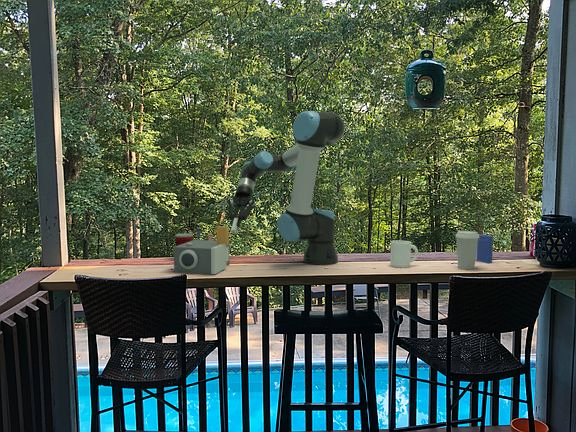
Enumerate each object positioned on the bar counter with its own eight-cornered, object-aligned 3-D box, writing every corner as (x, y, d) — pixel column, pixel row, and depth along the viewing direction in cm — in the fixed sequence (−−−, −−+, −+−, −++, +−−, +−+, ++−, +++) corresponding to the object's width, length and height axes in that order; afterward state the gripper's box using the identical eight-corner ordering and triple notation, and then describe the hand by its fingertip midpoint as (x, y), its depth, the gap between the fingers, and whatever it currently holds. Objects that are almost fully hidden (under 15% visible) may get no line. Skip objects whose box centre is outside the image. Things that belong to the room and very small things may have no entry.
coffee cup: (449, 266, 235) (450, 231, 234) (467, 265, 239) (468, 230, 237) (464, 270, 226) (466, 234, 225) (483, 269, 230) (484, 233, 229)
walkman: (492, 262, 245) (493, 235, 244) (488, 263, 244) (489, 235, 242) (476, 259, 251) (477, 233, 250) (472, 260, 250) (473, 233, 248)
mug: (414, 263, 242) (415, 240, 241) (421, 267, 233) (422, 242, 232) (387, 264, 240) (388, 240, 239) (394, 268, 232) (394, 243, 231)
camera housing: (229, 264, 237) (229, 239, 236) (210, 275, 216) (210, 247, 215) (194, 262, 241) (193, 238, 240) (172, 272, 220) (171, 245, 219)
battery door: (228, 267, 228) (228, 226, 226) (217, 274, 215) (216, 230, 214) (218, 267, 229) (218, 226, 227) (206, 273, 216) (206, 230, 215)
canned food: (197, 258, 251) (196, 234, 250) (182, 261, 245) (182, 236, 244) (186, 256, 256) (186, 232, 255) (172, 259, 250) (171, 234, 249)
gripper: (260, 196, 255) (249, 237, 240) (233, 195, 258) (221, 236, 243) (257, 185, 249) (246, 226, 235) (229, 184, 252) (216, 225, 238)
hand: (233, 231), depth 239 cm, fingers closed
